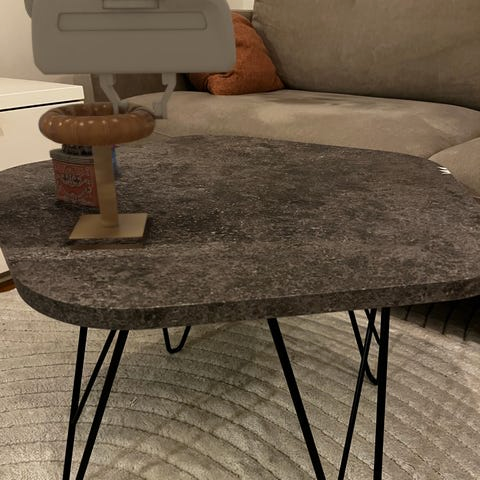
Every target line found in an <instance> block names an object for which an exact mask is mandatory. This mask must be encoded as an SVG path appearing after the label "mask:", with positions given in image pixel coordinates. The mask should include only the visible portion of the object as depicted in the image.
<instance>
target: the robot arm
mask: <svg viewBox="0 0 480 480" xmlns="http://www.w3.org/2000/svg"><path fill="white" fill-rule="evenodd" d="M23 3H24V9H25V11H26V14H27V15H28V17H29V18H30V19H31V24H30V25H31V30H30V31H31V45H32V46H31V47H32V48H31V49H32V58H33V63H34V66H35V67H36V68H37V70H39V71H40V72H41V74H43V75H46V76H49V75H50V76H56V75H58V76H61V75H62V76H63V75H98V79H99V86H100V88H101V90H102V91H103V93H104V94H105V96H106V97H107V99H108V101H109V102H111V103H113V110H114V115H119V114H126V113H130V111H129V110H128V108H129V103H130V102H129V100H121V98H120V96H119V95H118V93H117V92H116V90H115V88H114V85H115V84H116V82H117V80H116V78H117V77H116V75H124V74H125V75H126V74H129V75H130V74H135V75H136V74H161V83H162V85H163V86H166V88H165V90H164V93H163V95H162V97H161V99H154V100H153V101H152V111H153V112H154V113H153V116H154V119H156V120H169V105H168V102H169V100H170V98H171V96H172V94H173V92H174V90H175V88H176V86H177V74H191V73H192V74H193V73H194V74H197V73H198V74H199V73H200V74H201V73H229V72H231V71H232V69H233V68H234V66H236V63H237V47H236V37H235V27H234V22H233V16H232V13H231V12H232V11H231V8H230V5H229V2H228V1H227V0H23Z"/></svg>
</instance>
